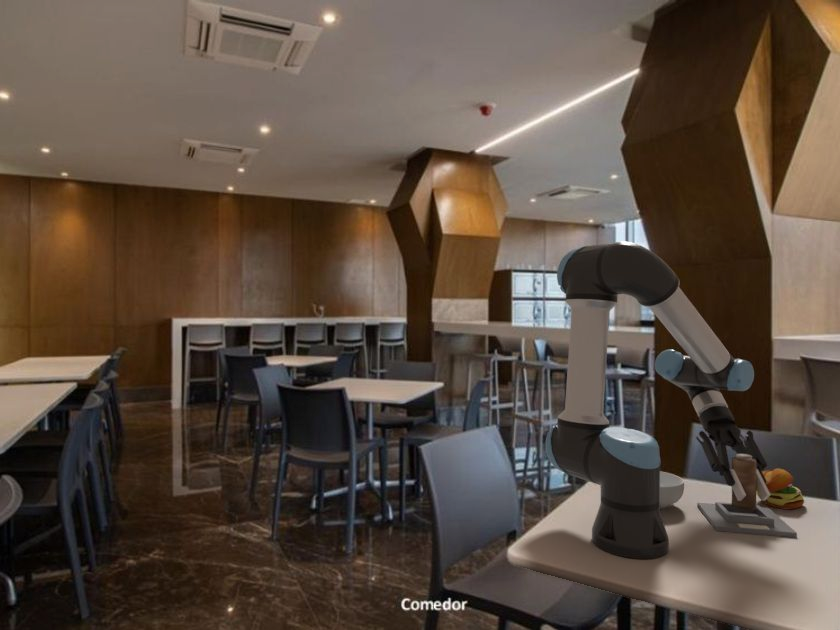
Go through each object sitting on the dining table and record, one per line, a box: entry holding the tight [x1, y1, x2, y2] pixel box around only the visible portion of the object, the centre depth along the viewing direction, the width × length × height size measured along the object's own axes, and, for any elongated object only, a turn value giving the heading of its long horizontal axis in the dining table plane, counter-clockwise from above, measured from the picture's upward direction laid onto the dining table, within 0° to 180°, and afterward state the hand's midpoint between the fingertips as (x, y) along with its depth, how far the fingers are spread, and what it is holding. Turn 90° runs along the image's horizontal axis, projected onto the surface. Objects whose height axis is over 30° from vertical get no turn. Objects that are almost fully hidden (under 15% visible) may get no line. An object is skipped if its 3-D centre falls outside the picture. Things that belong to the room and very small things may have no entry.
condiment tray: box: [697, 501, 798, 538], centre depth 130 cm, size 16×16×2 cm
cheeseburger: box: [756, 468, 805, 510], centre depth 141 cm, size 10×11×10 cm
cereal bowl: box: [659, 470, 685, 510], centre depth 141 cm, size 17×17×7 cm
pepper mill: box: [731, 453, 757, 510], centre depth 130 cm, size 5×5×12 cm
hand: (754, 497), depth 126 cm, fingers closed on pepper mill, 5 cm apart
